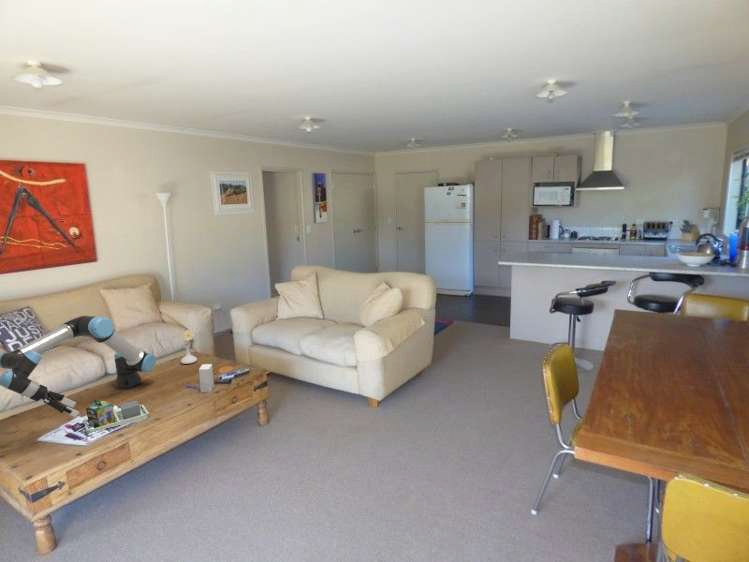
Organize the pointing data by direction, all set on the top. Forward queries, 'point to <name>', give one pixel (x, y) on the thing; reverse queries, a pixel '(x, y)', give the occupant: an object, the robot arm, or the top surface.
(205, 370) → the skincare box
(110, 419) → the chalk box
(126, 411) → the grey block
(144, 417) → the caddy
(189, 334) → the flower in vase
